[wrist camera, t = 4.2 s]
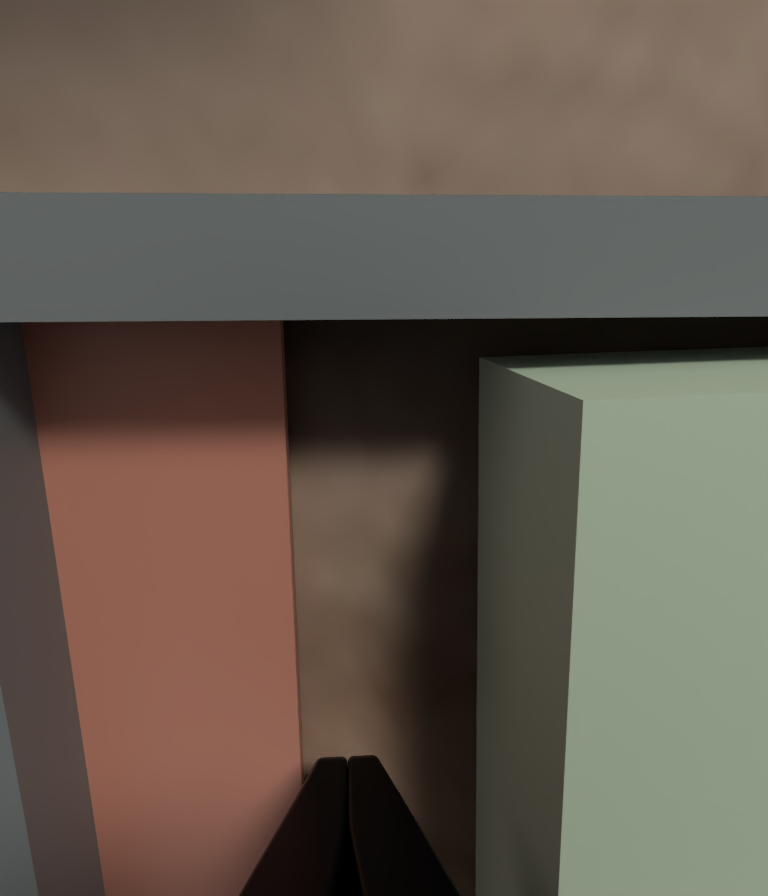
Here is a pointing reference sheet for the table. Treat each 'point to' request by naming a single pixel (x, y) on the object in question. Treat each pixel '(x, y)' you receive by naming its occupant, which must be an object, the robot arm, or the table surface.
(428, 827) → the table surface
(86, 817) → the channel
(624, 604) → the block
